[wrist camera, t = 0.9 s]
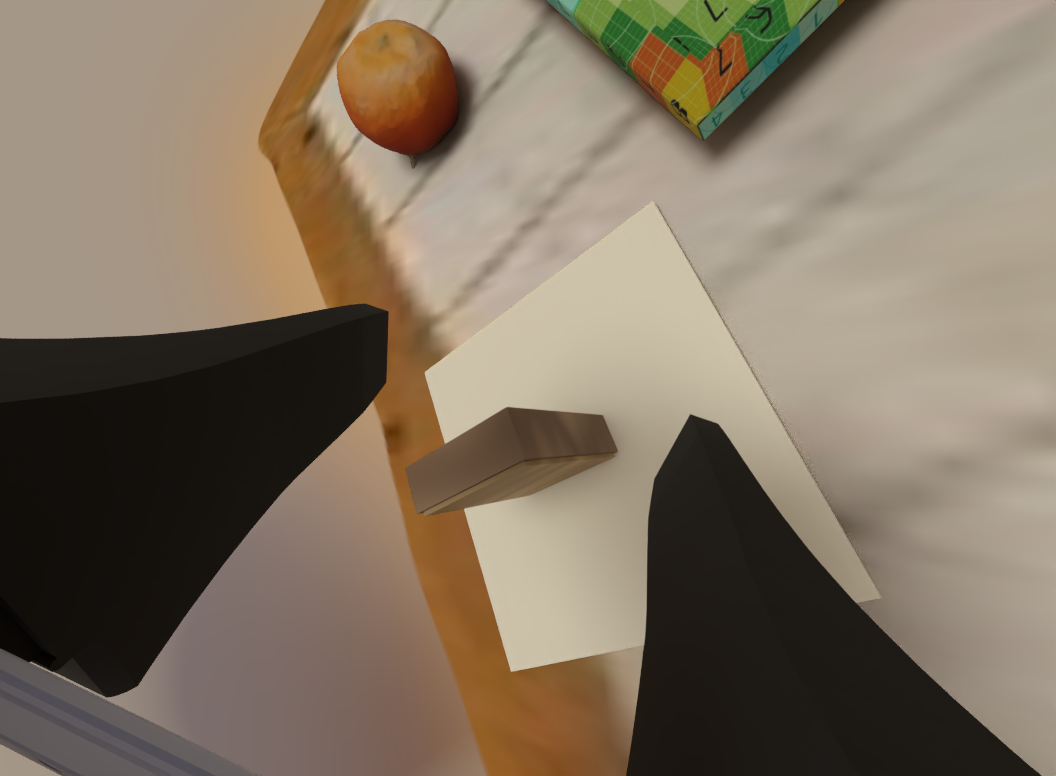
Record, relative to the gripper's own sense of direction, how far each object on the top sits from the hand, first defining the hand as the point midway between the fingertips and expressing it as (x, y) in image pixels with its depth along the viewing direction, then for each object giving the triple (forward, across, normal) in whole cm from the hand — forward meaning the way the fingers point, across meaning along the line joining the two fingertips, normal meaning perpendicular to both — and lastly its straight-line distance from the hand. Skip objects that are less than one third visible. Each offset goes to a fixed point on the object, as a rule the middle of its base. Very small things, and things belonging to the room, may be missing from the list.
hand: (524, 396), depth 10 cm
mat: (+10, -2, +9) cm, 14 cm away
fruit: (+27, +15, -2) cm, 31 cm away
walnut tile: (+10, -2, +10) cm, 14 cm away
